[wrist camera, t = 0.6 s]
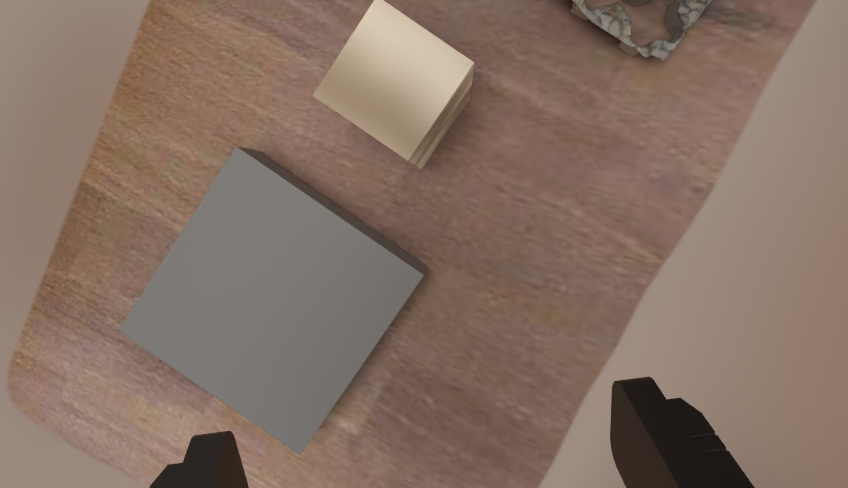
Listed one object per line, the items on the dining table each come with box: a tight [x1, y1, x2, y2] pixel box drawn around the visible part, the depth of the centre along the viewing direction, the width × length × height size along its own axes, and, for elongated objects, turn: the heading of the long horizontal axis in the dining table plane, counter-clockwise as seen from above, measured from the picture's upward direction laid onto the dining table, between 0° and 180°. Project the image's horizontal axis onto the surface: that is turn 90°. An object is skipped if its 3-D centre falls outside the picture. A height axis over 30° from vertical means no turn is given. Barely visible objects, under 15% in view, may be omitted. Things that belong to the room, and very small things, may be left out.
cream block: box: [313, 0, 474, 169], centre depth 33 cm, size 5×5×10 cm
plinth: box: [118, 147, 427, 455], centre depth 37 cm, size 12×12×4 cm
